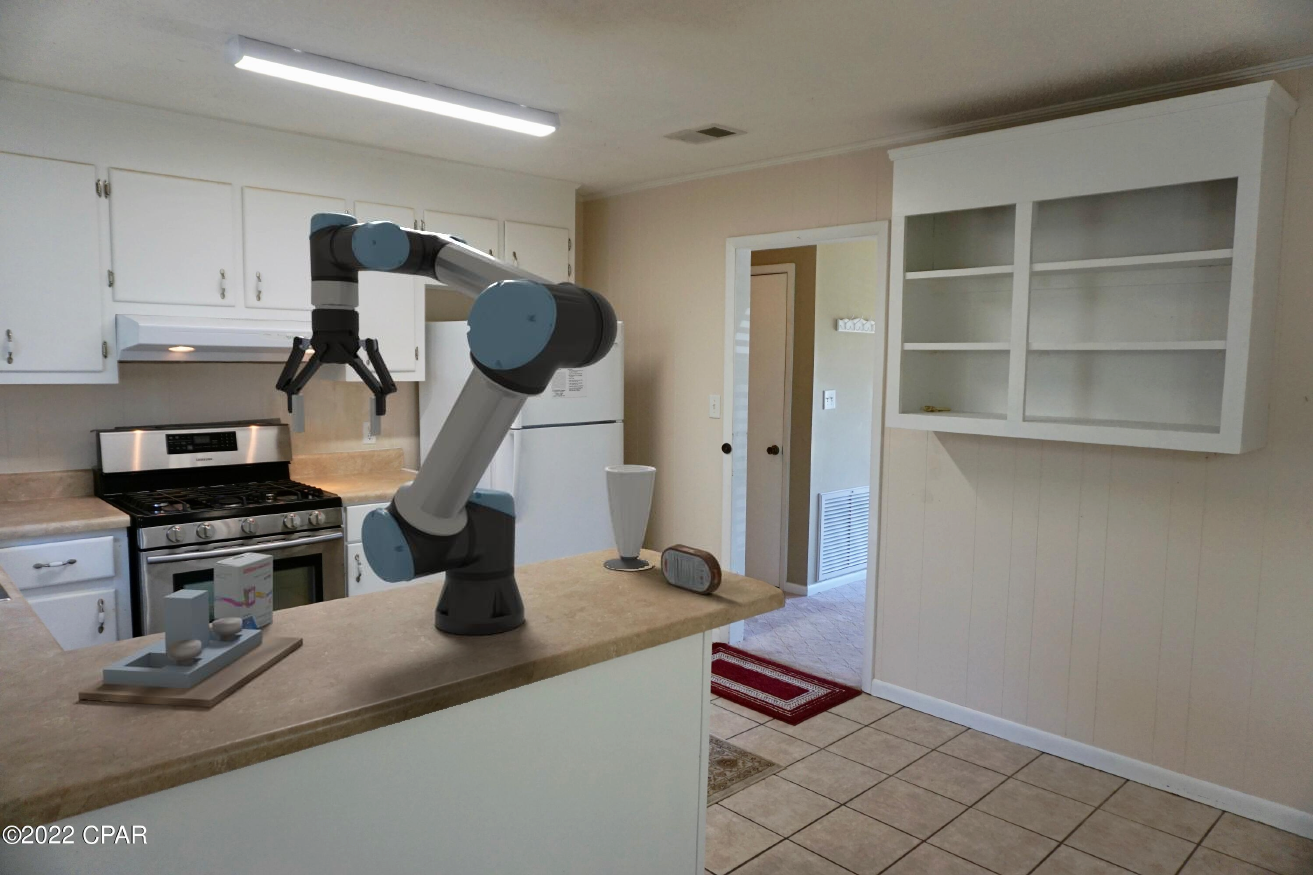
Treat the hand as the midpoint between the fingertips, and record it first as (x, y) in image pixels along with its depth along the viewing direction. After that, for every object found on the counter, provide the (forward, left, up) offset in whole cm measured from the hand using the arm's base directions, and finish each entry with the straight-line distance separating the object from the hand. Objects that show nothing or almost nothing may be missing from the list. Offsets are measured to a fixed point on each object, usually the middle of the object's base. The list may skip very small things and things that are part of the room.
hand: (337, 434), depth 144 cm
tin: (-60, -26, -32) cm, 73 cm away
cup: (-46, -43, -32) cm, 71 cm away
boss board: (+8, +27, -32) cm, 42 cm away
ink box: (+12, +9, -32) cm, 35 cm away
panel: (+10, +27, -31) cm, 42 cm away
